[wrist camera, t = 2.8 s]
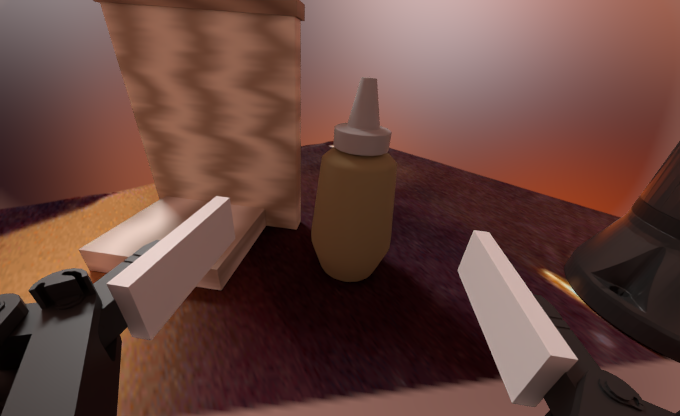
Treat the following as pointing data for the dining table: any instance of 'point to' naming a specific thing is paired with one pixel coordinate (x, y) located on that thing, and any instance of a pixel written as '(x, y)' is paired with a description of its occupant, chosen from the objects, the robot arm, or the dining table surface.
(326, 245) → the squeeze bottle
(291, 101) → the wooden display stand
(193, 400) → the dining table surface
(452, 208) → the dining table surface
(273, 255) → the dining table surface
